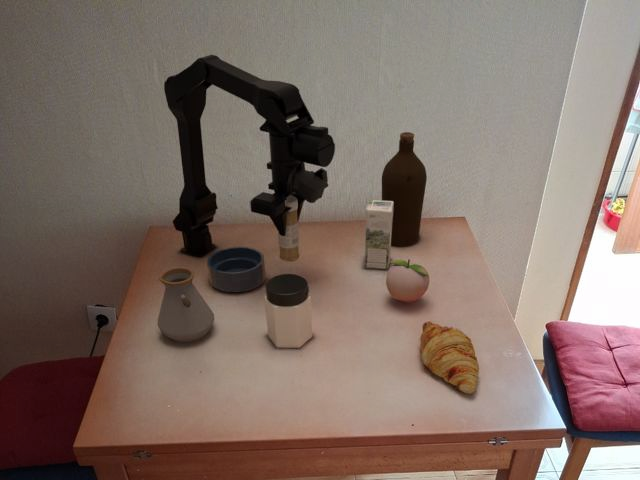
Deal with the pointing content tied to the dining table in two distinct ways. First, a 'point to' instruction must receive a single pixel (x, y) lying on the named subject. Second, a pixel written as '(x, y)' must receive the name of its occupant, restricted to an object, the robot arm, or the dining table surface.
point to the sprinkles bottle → (290, 234)
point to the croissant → (450, 356)
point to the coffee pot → (183, 307)
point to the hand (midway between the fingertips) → (288, 231)
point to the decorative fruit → (407, 280)
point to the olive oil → (405, 191)
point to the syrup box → (378, 234)
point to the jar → (288, 310)
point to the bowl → (236, 269)
